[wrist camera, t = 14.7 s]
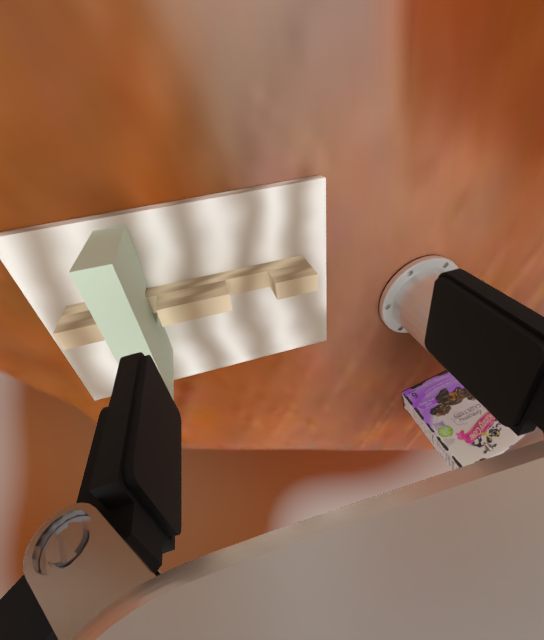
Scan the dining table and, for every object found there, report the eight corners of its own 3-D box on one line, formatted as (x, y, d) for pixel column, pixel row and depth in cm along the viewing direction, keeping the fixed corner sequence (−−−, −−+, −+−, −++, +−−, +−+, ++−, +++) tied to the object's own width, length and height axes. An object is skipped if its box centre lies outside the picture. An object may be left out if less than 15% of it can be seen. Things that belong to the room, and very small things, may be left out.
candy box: (466, 359, 60) (548, 432, 47) (466, 378, 64) (542, 450, 51) (400, 391, 61) (463, 472, 48) (403, 408, 64) (463, 487, 51)
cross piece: (92, 230, 30) (68, 272, 23) (125, 224, 30) (112, 263, 23) (148, 355, 40) (144, 412, 32) (173, 349, 40) (173, 404, 33)
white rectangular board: (320, 174, 34) (347, 188, 29) (322, 334, 47) (341, 363, 42) (-6, 233, 29) (-44, 261, 24) (96, 392, 42) (86, 432, 37)
